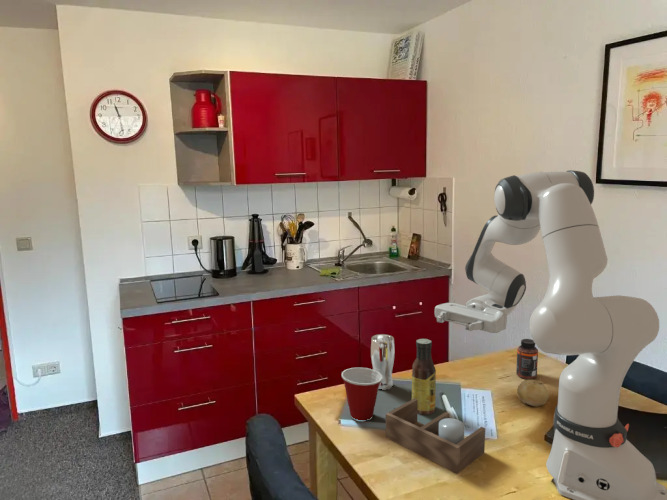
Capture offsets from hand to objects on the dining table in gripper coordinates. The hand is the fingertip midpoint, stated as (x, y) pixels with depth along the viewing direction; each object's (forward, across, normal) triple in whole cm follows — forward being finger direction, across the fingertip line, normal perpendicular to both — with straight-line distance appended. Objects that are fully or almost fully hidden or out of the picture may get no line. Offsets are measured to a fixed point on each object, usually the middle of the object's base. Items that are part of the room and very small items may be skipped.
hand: (453, 323), depth 139 cm
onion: (-12, +18, +22) cm, 31 cm away
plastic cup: (+26, -10, +22) cm, 35 cm away
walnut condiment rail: (+25, +12, +21) cm, 35 cm away
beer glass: (+9, -18, +22) cm, 30 cm away
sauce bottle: (+13, 0, +22) cm, 25 cm away
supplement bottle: (-27, +9, +22) cm, 36 cm away
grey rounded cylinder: (+25, +17, +20) cm, 36 cm away
